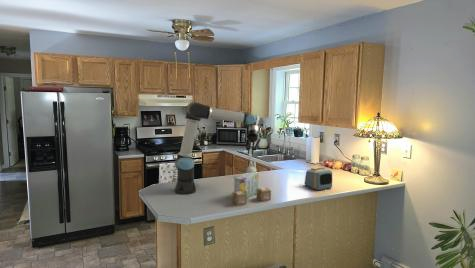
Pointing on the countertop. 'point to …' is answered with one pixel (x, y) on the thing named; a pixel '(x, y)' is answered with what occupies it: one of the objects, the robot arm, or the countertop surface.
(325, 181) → the alarm clock
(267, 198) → the walnut block
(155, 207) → the countertop surface
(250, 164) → the toy
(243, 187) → the snack box
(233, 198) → the walnut block
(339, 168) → the countertop surface
